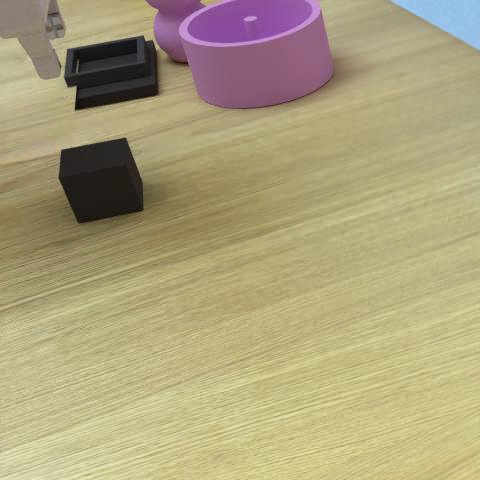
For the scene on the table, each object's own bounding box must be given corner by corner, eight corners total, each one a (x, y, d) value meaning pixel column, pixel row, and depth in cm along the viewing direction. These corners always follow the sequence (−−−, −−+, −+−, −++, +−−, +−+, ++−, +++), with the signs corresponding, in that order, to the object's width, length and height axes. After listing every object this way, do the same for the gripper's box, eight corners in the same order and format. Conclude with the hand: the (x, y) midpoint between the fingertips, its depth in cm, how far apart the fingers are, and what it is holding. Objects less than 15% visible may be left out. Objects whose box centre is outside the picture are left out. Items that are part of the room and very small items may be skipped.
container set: (361, 67, 117) (335, -63, 108) (254, 119, 110) (216, -16, 100) (226, 26, 130) (193, -94, 120) (122, 70, 122) (77, -54, 113)
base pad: (66, 111, 115) (56, 87, 113) (71, 65, 125) (62, 41, 123) (158, 94, 117) (150, 70, 115) (156, 49, 126) (148, 26, 124)
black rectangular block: (77, 223, 97) (58, 177, 94) (79, 194, 101) (60, 149, 98) (143, 210, 98) (125, 164, 95) (142, 181, 102) (126, 136, 99)
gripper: (-49, -154, 87) (25, 21, 97) (-82, -89, 73) (8, 108, 83) (29, -167, 87) (94, 8, 97) (11, -105, 73) (89, 92, 83)
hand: (54, 55), depth 90 cm, fingers open, 8 cm apart
